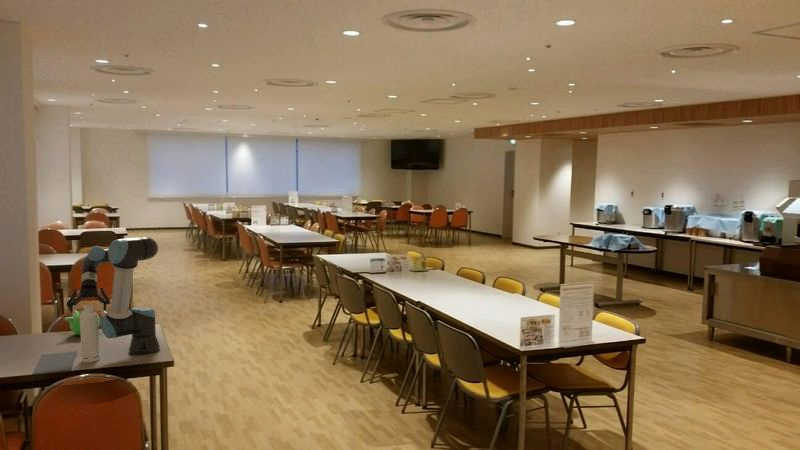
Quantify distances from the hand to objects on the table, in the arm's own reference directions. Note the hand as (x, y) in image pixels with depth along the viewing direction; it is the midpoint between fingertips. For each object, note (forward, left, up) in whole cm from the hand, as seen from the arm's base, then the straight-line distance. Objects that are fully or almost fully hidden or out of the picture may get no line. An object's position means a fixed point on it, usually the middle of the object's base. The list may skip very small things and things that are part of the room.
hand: (88, 316), depth 319 cm
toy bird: (+40, -26, -21) cm, 52 cm away
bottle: (-6, +4, -21) cm, 22 cm away
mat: (+4, +16, -21) cm, 27 cm away
